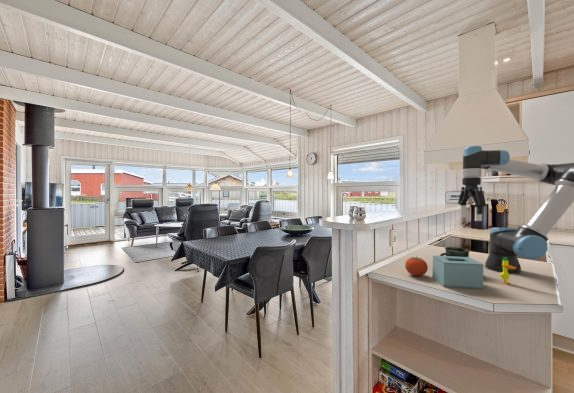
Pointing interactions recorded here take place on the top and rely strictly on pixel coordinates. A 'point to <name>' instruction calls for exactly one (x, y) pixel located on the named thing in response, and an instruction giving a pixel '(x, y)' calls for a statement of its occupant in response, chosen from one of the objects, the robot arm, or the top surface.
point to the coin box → (458, 272)
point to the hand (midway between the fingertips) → (470, 219)
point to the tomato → (416, 266)
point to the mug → (456, 252)
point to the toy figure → (505, 268)
